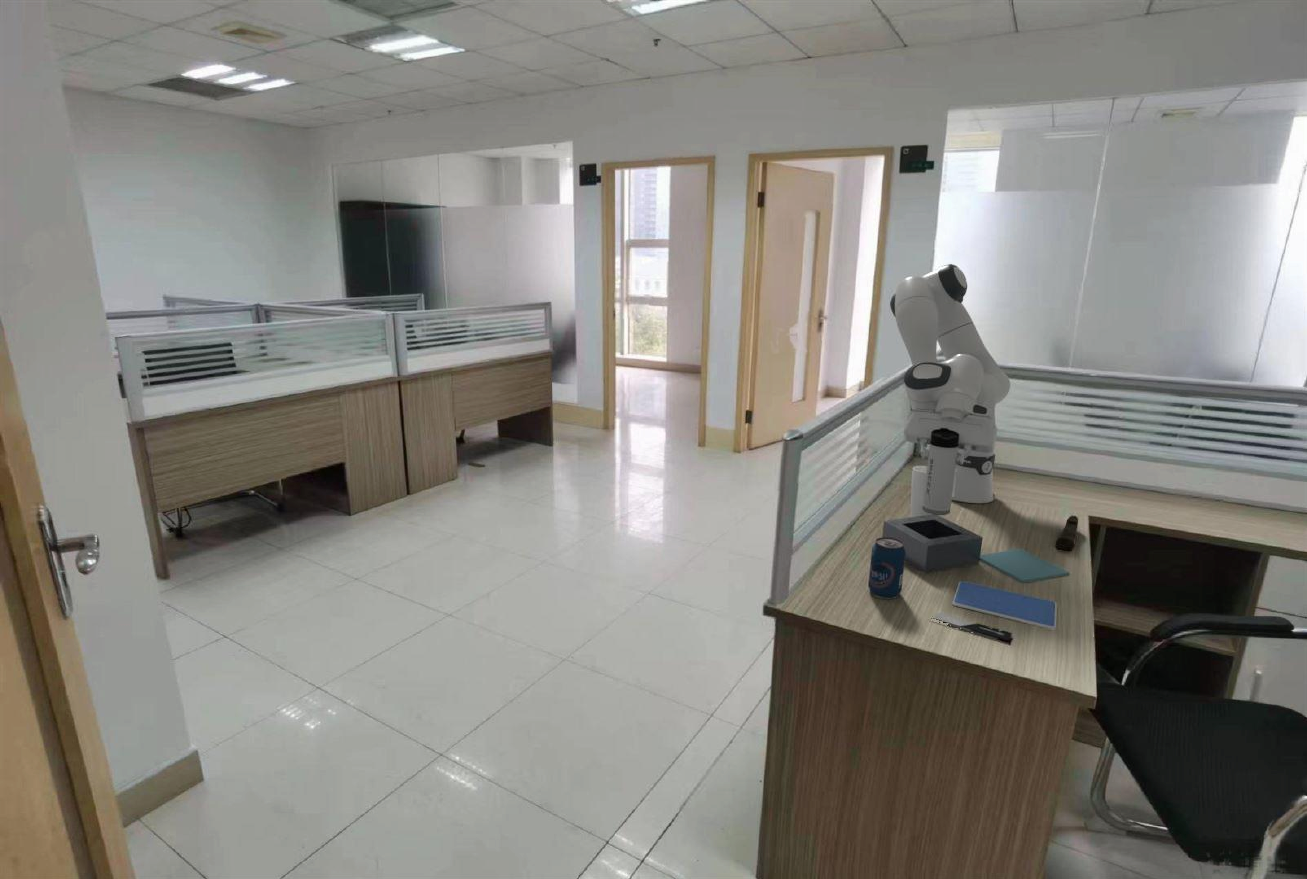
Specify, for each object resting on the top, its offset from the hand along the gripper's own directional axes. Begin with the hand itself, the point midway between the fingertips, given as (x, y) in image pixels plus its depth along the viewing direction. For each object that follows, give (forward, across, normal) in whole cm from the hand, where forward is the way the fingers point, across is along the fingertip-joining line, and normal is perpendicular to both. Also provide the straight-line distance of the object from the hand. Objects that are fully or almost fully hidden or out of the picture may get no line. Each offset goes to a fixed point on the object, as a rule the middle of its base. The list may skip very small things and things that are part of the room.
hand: (941, 460), depth 162 cm
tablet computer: (+30, +18, +6) cm, 36 cm away
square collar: (+17, 0, +18) cm, 25 cm away
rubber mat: (+13, +19, +22) cm, 32 cm away
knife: (+40, +14, -4) cm, 43 cm away
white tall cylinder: (+1, -8, +35) cm, 35 cm away
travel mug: (+9, 0, +10) cm, 13 cm away
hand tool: (-4, +27, +40) cm, 49 cm away
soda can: (+36, -4, 0) cm, 36 cm away
